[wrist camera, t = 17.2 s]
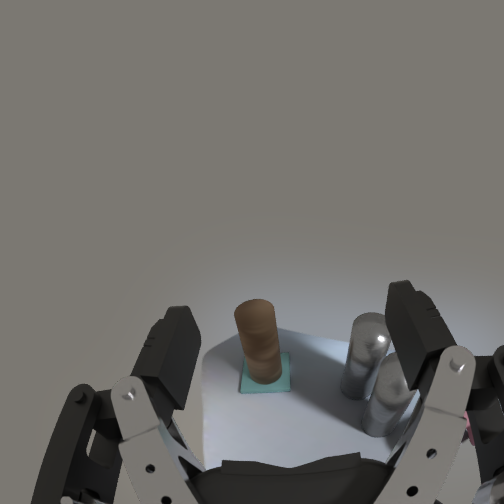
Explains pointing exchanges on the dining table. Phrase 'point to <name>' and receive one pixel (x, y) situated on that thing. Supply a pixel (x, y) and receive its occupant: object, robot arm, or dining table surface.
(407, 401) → the shiny grey metal cylinder
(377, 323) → the silver tall tapered cylinder
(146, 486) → the robot arm
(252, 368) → the cylinder
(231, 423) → the dining table surface
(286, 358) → the teal mat
